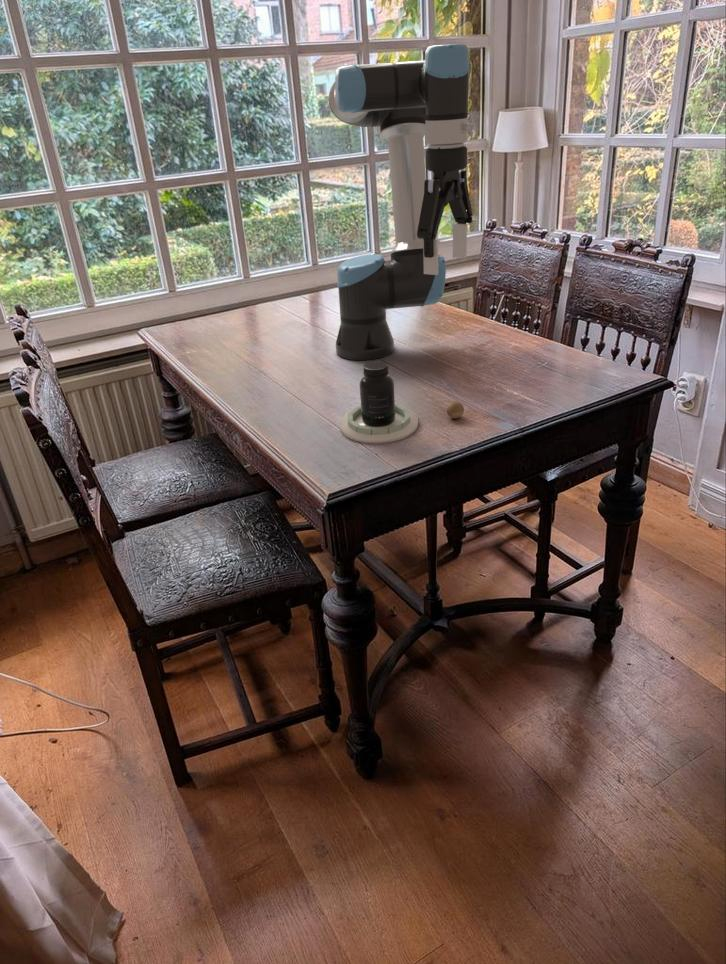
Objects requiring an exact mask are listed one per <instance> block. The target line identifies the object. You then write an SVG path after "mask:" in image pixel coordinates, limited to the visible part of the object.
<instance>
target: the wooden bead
mask: <svg viewBox="0 0 726 964" xmlns="http://www.w3.org/2000/svg"><path fill="white" fill-rule="evenodd" d="M464 411H465V408H464V405H463V404H462V403H461V402H459V401H451V402H450V403H448V405H447V407H446V413H447V416H448V417H450V418H452V419H453V420H454V419H457V420H458V419H460V418H462V416H463V415H464Z"/></svg>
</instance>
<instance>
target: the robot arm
mask: <svg viewBox="0 0 726 964" xmlns="http://www.w3.org/2000/svg"><path fill="white" fill-rule="evenodd" d="M469 59H470V58H469V47H468V46H467V45H466V44H464V43H450V44H449V43H448V44H436V45H430V46H427V48H426V50H425V52H424V59H423V60H412V61H397V62H389V63H388V62H387V63H385V62H384V63H369V64H368V63H366V64H355V63H353V64H350V65H344V66H342V65H341V66H339V67H338V68H336V70H335V74H334V75H335V77H334V82H333V84H332V85H331V87H330V90H329V94H328V105H329V109H330V110H331V112H332V115H334V117H335V118H336V119H337V120H339V121H340V122H342V123H344V124H348V125H350V126H353V127H360V128H370V127H371V128H373V127H379V129H380V136H381V137H382V138H383V139H384V140H385V141H386V142H387V147H388V148H387V149H388V150H387V151H388V162H389V163H388V164H389V174H390V187H391V200H392V202H391V203H392V210H393V211H392V213H393V224H394V225H393V227H394V238H395V246H394V248H393V249H392V250H391V251H390V260H385V258H384V256H383V255H382V254H377V253H375V254H373V253H372V254H363V255H358V256H354V257H352V258H349V259H347V260H344V261H343V262H341V264H340V265H338V268H337V282H336V286H337V288H338V302H339V303H338V304H339V314H340V319H339V320H340V325H339V329H338V333H337V337H336V342H335V353H336V355H338V356H339V357H340V358H343V359H345V360H346V359H347V360H353V361H368V360H369V361H370V360H376V359H380V358H383V357H386V356H389V355H390V354H392V353H393V352H394V350H395V342H394V341H395V340H394V337H393V334H392V332H391V330H390V327H389V324H388V321H387V312H386V310H389V309H390V310H391V309H393V310H394V309H402V308H403V309H404V308H413V307H415V308H416V307H425V306H430V305H436V304H438V303H439V302H440V301H441V299H442V297H443V294H444V290H445V285H446V276H447V275H446V274H447V272H446V271H447V267H446V259H445V257H444V256H443V255H440V254H439V238H437V234H438V231H439V228H440V224H441V220H442V218H443V215H444V210H445V208H446V207H448V206H449V208H450V211H451V213H452V216H453V219H454V221H455V223H453V224H452V258H453V259H454V258H455V259H457V258H458V259H466V258H467V255H468V253H467V248H468V247H467V246H468V224H472V222H473V210H472V205H471V199H470V198H471V197H470V192H469V187H468V182H467V180H468V178H467V177H468V176H467V175H468V173H467V170H466V168H467V166H468V147H467V146H466V145H465V144H466V143H467V142H468V131H469V130H470V128H471V127H470V124H468V123H469V122H468V117H469V116H468V114H469V81H470V80H469V77H470V74H469V73H470V70H471V67H470V65H471V64H470V61H469ZM424 143H425V144H424ZM424 145H426V146H428V147H426V149H425V146H424ZM426 171H429V172H432V173H433V174H432V179H427V174H426Z"/></svg>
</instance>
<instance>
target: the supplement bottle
mask: <svg viewBox="0 0 726 964" xmlns="http://www.w3.org/2000/svg"><path fill="white" fill-rule="evenodd" d="M362 369H363V372H362V373H363V377H362V378H361V379H360V381H359V396H360V399H359V400H360V406H361V412H362V420H363V422H364V423H365V424H366V425H368V426H371V427H383V426H387V425H390V424H391V423H393V422H394V420H395V404H396V403H395V402H396V400H395V383H394V382H395V381H394V379H393V378H392V376H391V375H389V365H388V363H387V362H385V361H381V360H373V361H368V362H366V363H364V364H363V368H362Z"/></svg>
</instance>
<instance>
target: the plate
mask: <svg viewBox="0 0 726 964" xmlns="http://www.w3.org/2000/svg"><path fill="white" fill-rule="evenodd" d="M418 428H419V416H418V415H417V414H416V412H414V411H412V410H411V409H409V408H406V407H404V406H402V405H401V404H397V403H395V420H394V422H393V423H391V424H390V425H387V426H383V427H371V426H368V425H366V424H365V423H364V422H363V420H362V412H361V405H360V406H355V408H353V409H352V410H350V411H348V412H346V413H345V414H344V415H342V417H341V418H340V420H339V430H340V432H341V434H342V435H343V436H345V438H347V439H349V440H352V441H355V442H359V443H364V444H387V443H393V442H398V441H400V440H403V439H405V438H407V437H410V436H411V435H413V434H414V433H415V432H416V431H417V429H418Z"/></svg>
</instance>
